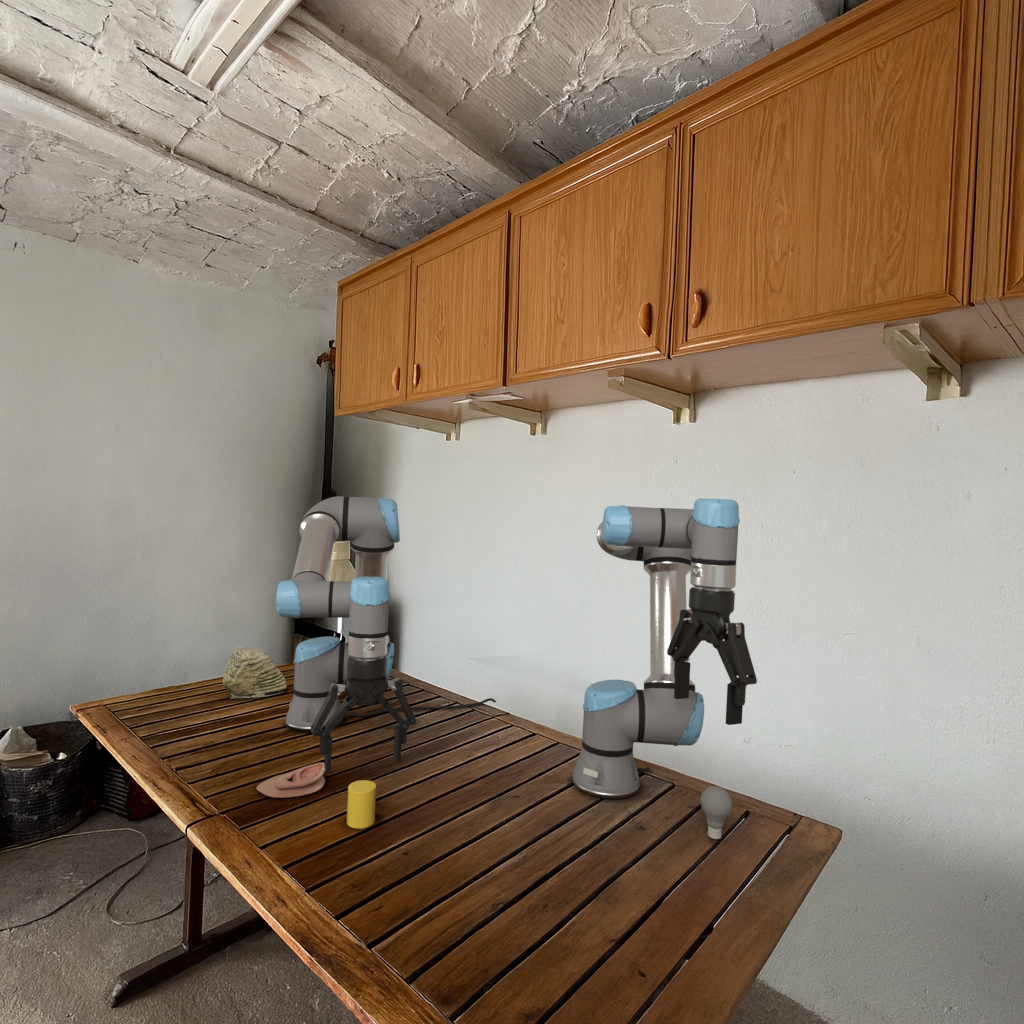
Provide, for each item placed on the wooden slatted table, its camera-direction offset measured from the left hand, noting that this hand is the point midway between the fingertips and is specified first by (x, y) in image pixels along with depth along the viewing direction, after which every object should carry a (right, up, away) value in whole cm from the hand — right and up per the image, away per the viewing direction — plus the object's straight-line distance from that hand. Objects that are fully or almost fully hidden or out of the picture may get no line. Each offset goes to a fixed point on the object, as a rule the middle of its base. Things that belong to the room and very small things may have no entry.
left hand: (363, 765), depth 124 cm
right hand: (+63, +15, -14) cm, 66 cm away
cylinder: (-1, -11, 0) cm, 11 cm away
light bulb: (+69, -14, 0) cm, 70 cm away
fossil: (-51, -8, +74) cm, 91 cm away
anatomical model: (-19, -10, +14) cm, 25 cm away
